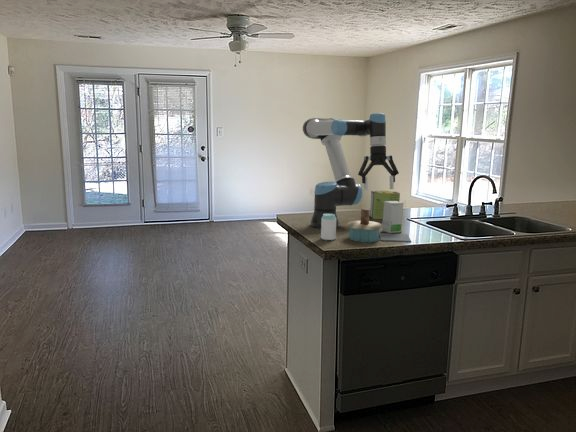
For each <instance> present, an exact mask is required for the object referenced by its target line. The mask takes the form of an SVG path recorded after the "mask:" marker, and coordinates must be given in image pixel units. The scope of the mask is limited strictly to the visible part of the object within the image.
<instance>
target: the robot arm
mask: <svg viewBox="0 0 576 432" xmlns="http://www.w3.org/2000/svg"><path fill="white" fill-rule="evenodd" d="M386 122H387V121H386V114H385V113H382V112H377V113H376V112H375V113H371V114H370V115H369V119H366V120H365V119H363V120H362V119H337V118H331V117H330V118H320V117H316V118H315V117H313V118H309V119H307V120H306V121H305V122H304V123H303V125H302V132H303V134H304V136H305V137H307V138H309V139H311V140H320V142H321V145H323V146H325V150H326V154H327V156H328V157H327V158H328V160H329V163H330V167H331V170H332V174H333V177H334V181H324V182H319V183H317V184H316V185H315V186H314V187H315V188H314V191H313V192H314V201H313V202H314V206H313V214H312V217H311V219H310V226H311V227H313V228H316V229H321V218H322V216H323V214H335V217H336V229H337V228H339V225H340V223H339V218H338V215H337V207H340V206H342V207H343V206H345V207H346V206H350V207H351V206H355V205H357V204H359V203H360V202H361V199H362V197H363V190H364V191H368V186H369V185H368V176H367V175H368V174H369V173H370V171H371V170H372V169H373V167H374V166H382V167H384V168H385V169H386V171H387V172H388V173H389V190H394V189H395V188H394V186H395V185H394V184H395V182H396V176H397V175H399V170H398V168H397V166H396V163H394V160H393V159H394V158H393V156H392V155H388V156H387V147H386V146H387V145H386V144H387V140H386V139H387V137H386V134H387V133H386V132H387V131H386V127H387V126H386V124H387V123H386ZM342 136H358V137H366V136H367V137H368V136H369V145H370V147H369V149H370V150H369V151H370V153H369V155H370V156H368V155H366V156H364V157H363V162H362V164H361V167H360V169H359V171H358V173H357V175H358V176H360V177H361V183H362V184H363V187H362V185H361V184H360V183H357V182H356V181H355V178H354V177H352V176H351V174H350V171H349V167H348V164H347V161H346V158H345V154H344V150H343V148H342V144H341V142H340V141H341V140H342ZM369 161H370V163H369V164H368V162H369ZM387 161H388V162H387Z"/></svg>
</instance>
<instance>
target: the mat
mask: <svg viewBox="0 0 576 432" xmlns="http://www.w3.org/2000/svg"><path fill="white" fill-rule="evenodd" d="M379 240H380V241H381V242H397V243H399V242H401V243H412V240H411V238H410V237H409V234H407V233H406V234H405V233H388V232H385V233H383V232H382V233H381V232H379Z"/></svg>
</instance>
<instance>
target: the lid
mask: <svg viewBox="0 0 576 432" xmlns="http://www.w3.org/2000/svg"><path fill="white" fill-rule="evenodd" d="M360 209H361V210H360V220H351V221H348V222H347V227H348V228H349V229H350V228H354V229H360V230H377V229H379V230H380V229H382V224H381V223H380V222H377V221H374V220H373V221H370V209H369V208H360Z"/></svg>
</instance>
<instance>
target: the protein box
mask: <svg viewBox="0 0 576 432" xmlns="http://www.w3.org/2000/svg"><path fill="white" fill-rule="evenodd" d="M370 193H371V195H370V209H369V210H370V212H369V217H371V219H374V220H383V210H384V201H398V202H400V199H401V198H400V197H401V193H400V192H398V191H396V190H371V192H370Z"/></svg>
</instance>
